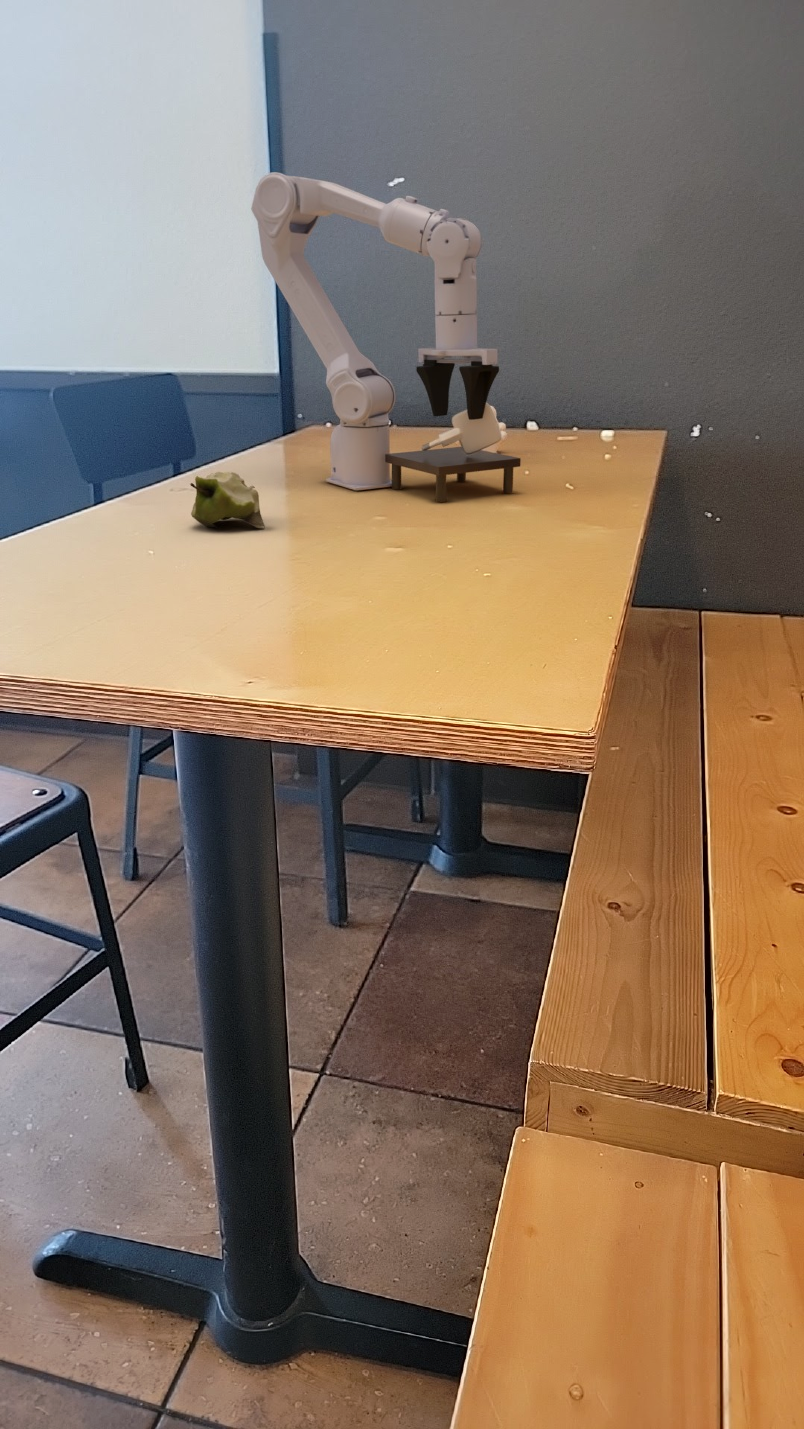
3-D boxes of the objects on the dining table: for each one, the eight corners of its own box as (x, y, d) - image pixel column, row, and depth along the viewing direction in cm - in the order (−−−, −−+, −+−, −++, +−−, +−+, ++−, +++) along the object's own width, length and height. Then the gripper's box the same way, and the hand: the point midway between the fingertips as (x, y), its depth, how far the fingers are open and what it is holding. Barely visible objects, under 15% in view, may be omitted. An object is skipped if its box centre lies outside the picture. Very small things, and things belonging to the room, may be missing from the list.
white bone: (506, 465, 176) (508, 414, 173) (454, 464, 177) (455, 414, 174) (505, 451, 190) (506, 404, 187) (456, 451, 191) (457, 404, 188)
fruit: (210, 547, 128) (191, 481, 125) (191, 538, 136) (172, 476, 133) (281, 525, 131) (263, 460, 128) (257, 517, 139) (241, 456, 136)
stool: (385, 488, 157) (385, 454, 155) (463, 479, 164) (463, 446, 162) (438, 503, 146) (438, 466, 144) (519, 493, 153) (520, 458, 151)
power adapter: (431, 472, 151) (414, 433, 149) (431, 469, 155) (415, 431, 154) (504, 440, 149) (488, 400, 147) (502, 438, 154) (487, 399, 152)
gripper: (400, 316, 149) (403, 416, 154) (469, 315, 138) (470, 423, 143) (439, 314, 153) (441, 412, 158) (509, 313, 142) (508, 418, 147)
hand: (457, 417), depth 150 cm, fingers open, 7 cm apart
